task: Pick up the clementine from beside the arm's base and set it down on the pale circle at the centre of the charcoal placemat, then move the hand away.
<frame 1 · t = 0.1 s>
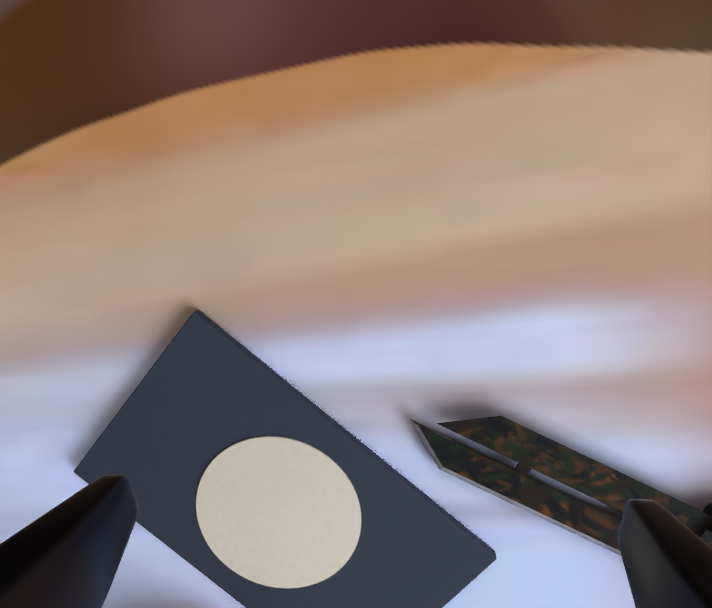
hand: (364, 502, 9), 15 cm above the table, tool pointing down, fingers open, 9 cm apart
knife: (636, 522, 25), on the table
placemat: (280, 507, 27), on the table
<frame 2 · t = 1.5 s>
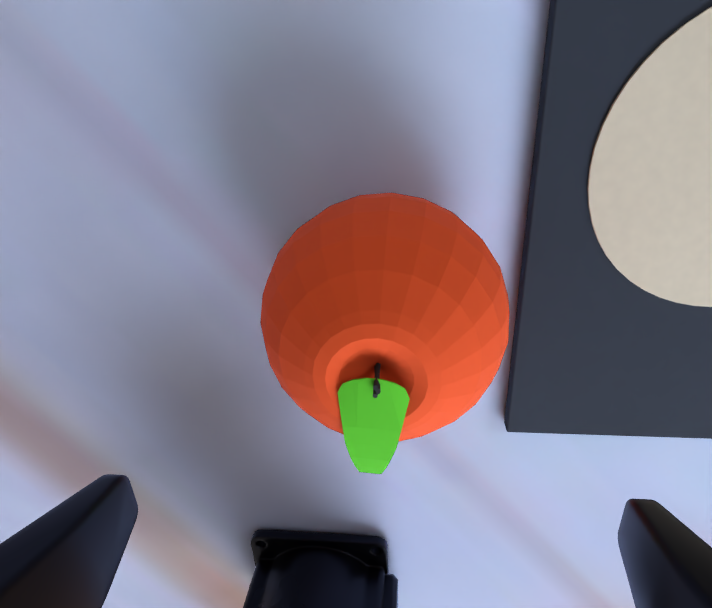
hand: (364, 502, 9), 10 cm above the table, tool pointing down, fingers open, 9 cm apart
clementine: (388, 282, 18), on the table
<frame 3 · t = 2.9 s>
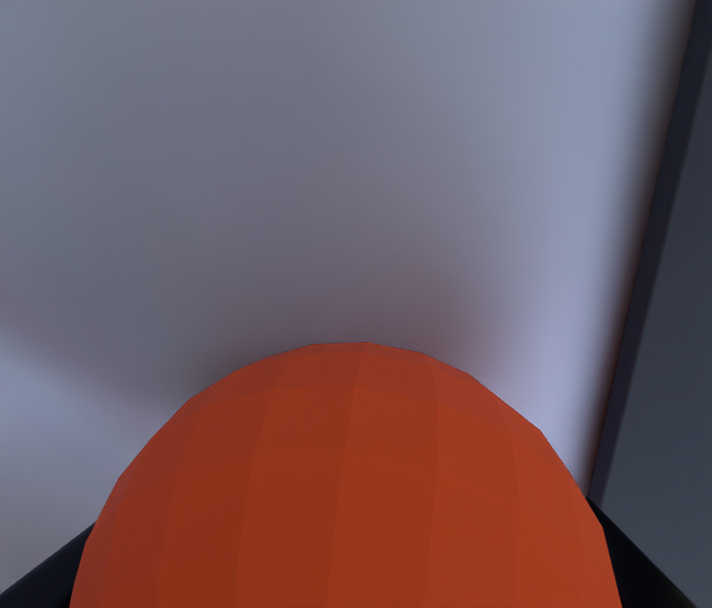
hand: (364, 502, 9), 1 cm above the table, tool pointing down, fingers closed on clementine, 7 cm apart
clementine: (367, 440, 10), on the table, touching gripper
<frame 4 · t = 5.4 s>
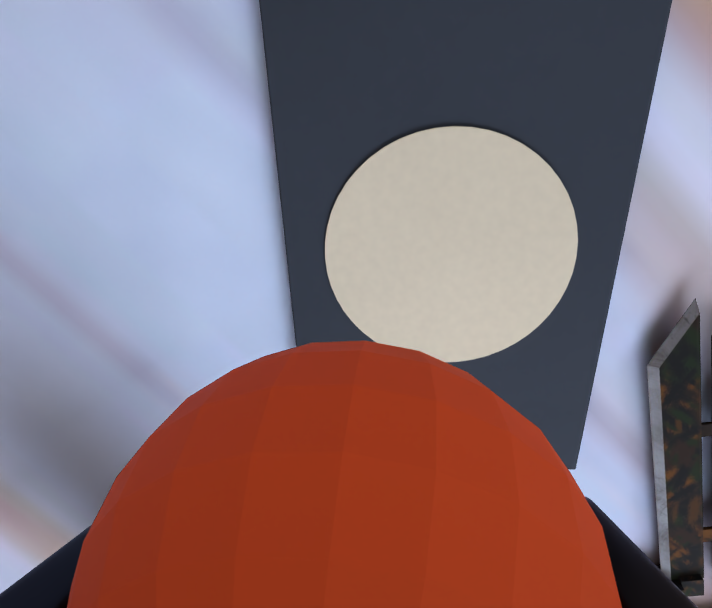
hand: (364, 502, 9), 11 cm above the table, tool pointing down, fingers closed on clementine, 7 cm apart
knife: (689, 527, 23), on the table
clementine: (367, 439, 10), point 10 cm above the table, touching gripper
placemat: (446, 250, 18), on the table
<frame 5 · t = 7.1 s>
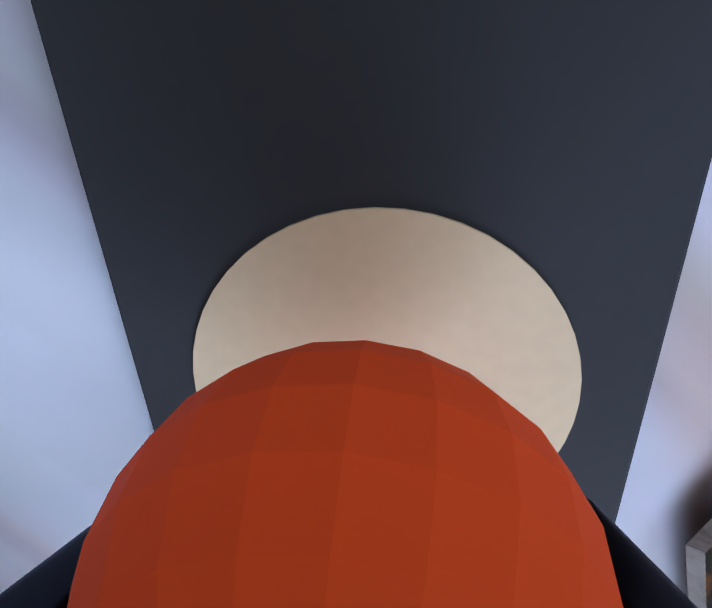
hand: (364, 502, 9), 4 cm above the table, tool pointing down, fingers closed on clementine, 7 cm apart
clementine: (367, 439, 10), point 2 cm above the table, touching gripper
placemat: (381, 379, 12), on the table
when the fingers open (2 cm above the table, at t = 8.2 s): clementine stays where it is, resting on placemat.
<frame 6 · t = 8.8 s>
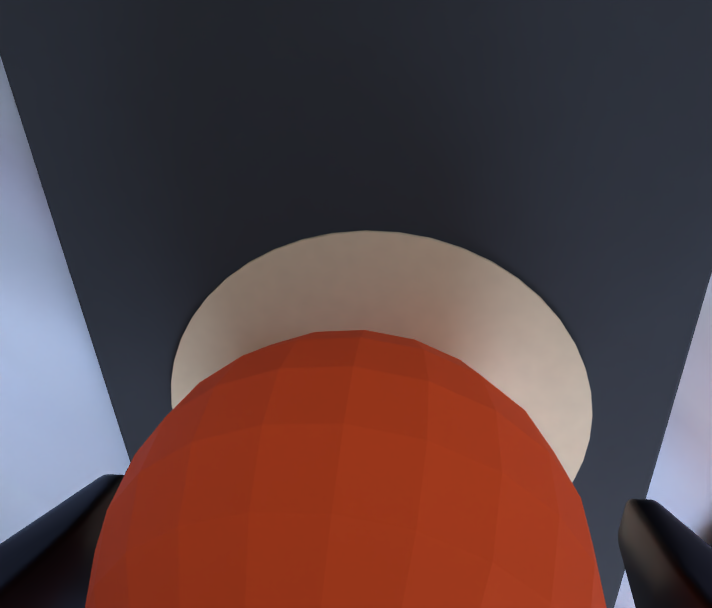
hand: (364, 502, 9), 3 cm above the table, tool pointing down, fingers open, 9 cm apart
clementine: (366, 427, 11), resting on placemat
placemat: (374, 411, 11), on the table
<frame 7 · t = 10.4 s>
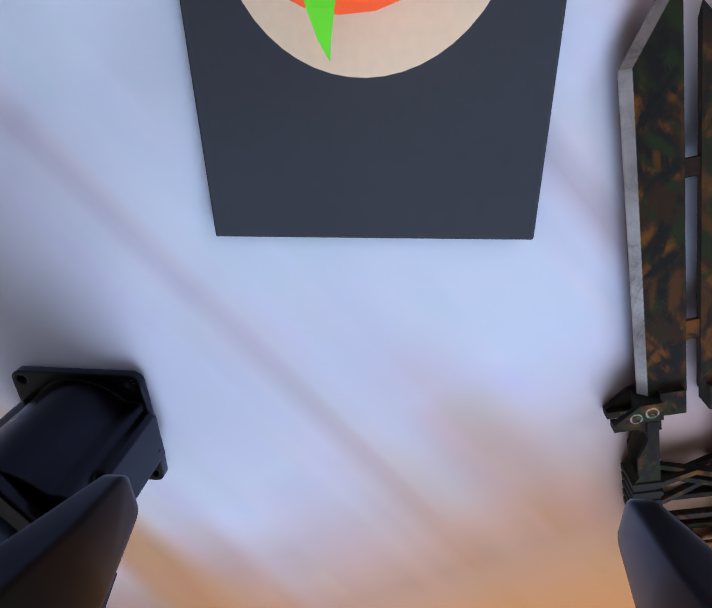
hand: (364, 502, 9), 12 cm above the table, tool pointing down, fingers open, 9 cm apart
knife: (670, 331, 20), on the table
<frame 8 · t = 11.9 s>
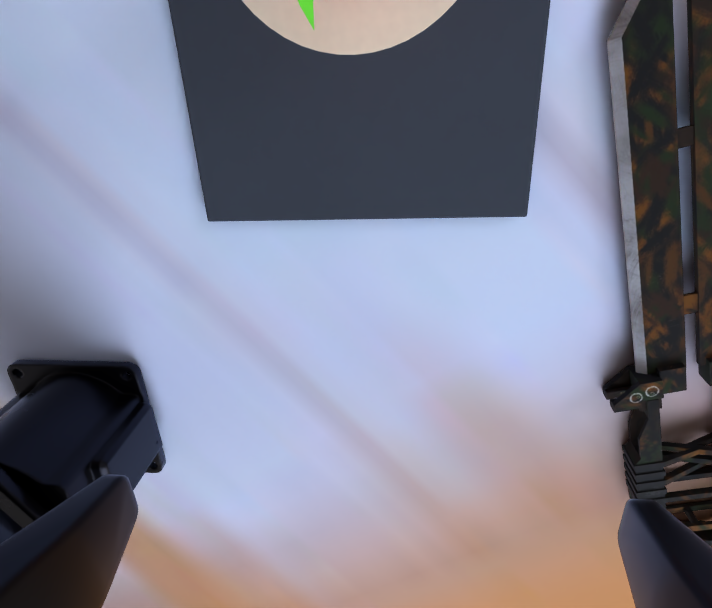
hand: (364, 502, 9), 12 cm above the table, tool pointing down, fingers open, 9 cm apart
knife: (668, 307, 19), on the table
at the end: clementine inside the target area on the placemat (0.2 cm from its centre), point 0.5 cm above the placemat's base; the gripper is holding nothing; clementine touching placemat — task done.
